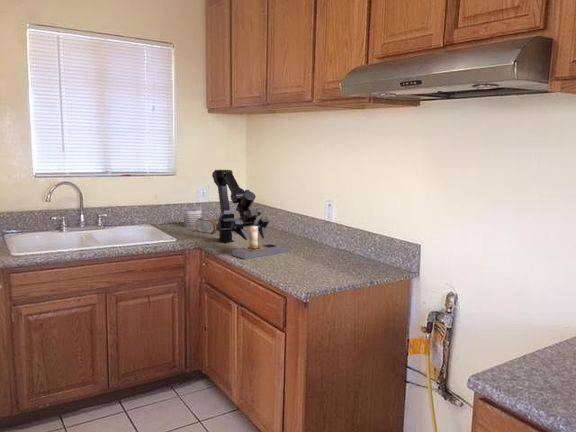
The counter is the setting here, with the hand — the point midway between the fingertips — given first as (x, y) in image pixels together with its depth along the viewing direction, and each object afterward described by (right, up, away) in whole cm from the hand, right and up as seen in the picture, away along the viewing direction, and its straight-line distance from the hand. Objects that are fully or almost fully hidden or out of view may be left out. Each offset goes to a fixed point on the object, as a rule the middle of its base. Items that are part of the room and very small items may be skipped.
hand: (255, 238), depth 233 cm
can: (-44, +4, +73) cm, 85 cm away
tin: (-32, +1, +54) cm, 63 cm away
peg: (-1, -8, +2) cm, 8 cm away
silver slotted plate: (+3, -7, +6) cm, 10 cm away
